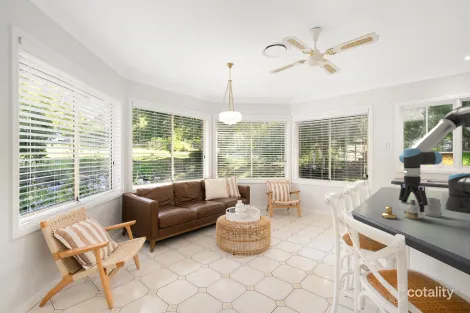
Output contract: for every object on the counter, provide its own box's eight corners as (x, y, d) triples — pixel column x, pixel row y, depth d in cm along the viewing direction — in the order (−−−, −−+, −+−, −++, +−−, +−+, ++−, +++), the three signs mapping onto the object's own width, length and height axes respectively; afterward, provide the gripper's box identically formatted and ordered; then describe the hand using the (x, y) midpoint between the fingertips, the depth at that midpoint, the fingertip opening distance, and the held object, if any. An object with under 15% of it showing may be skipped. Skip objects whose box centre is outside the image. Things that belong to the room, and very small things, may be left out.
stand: (413, 216, 134) (412, 199, 133) (422, 219, 128) (422, 201, 128) (403, 216, 133) (403, 199, 133) (412, 219, 127) (412, 201, 127)
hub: (390, 215, 136) (390, 205, 136) (399, 218, 129) (399, 208, 129) (379, 216, 135) (378, 206, 135) (388, 219, 128) (388, 208, 128)
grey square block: (413, 208, 135) (413, 201, 135) (427, 212, 126) (427, 205, 126) (398, 209, 134) (398, 202, 134) (412, 213, 125) (412, 205, 125)
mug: (441, 218, 129) (441, 196, 129) (415, 214, 137) (414, 194, 137) (442, 215, 134) (442, 194, 134) (417, 212, 143) (416, 192, 142)
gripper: (391, 174, 141) (391, 211, 141) (423, 177, 119) (424, 221, 119) (402, 174, 141) (403, 210, 141) (436, 177, 120) (437, 220, 120)
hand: (412, 215), depth 130 cm, fingers closed on grey square block, 9 cm apart
